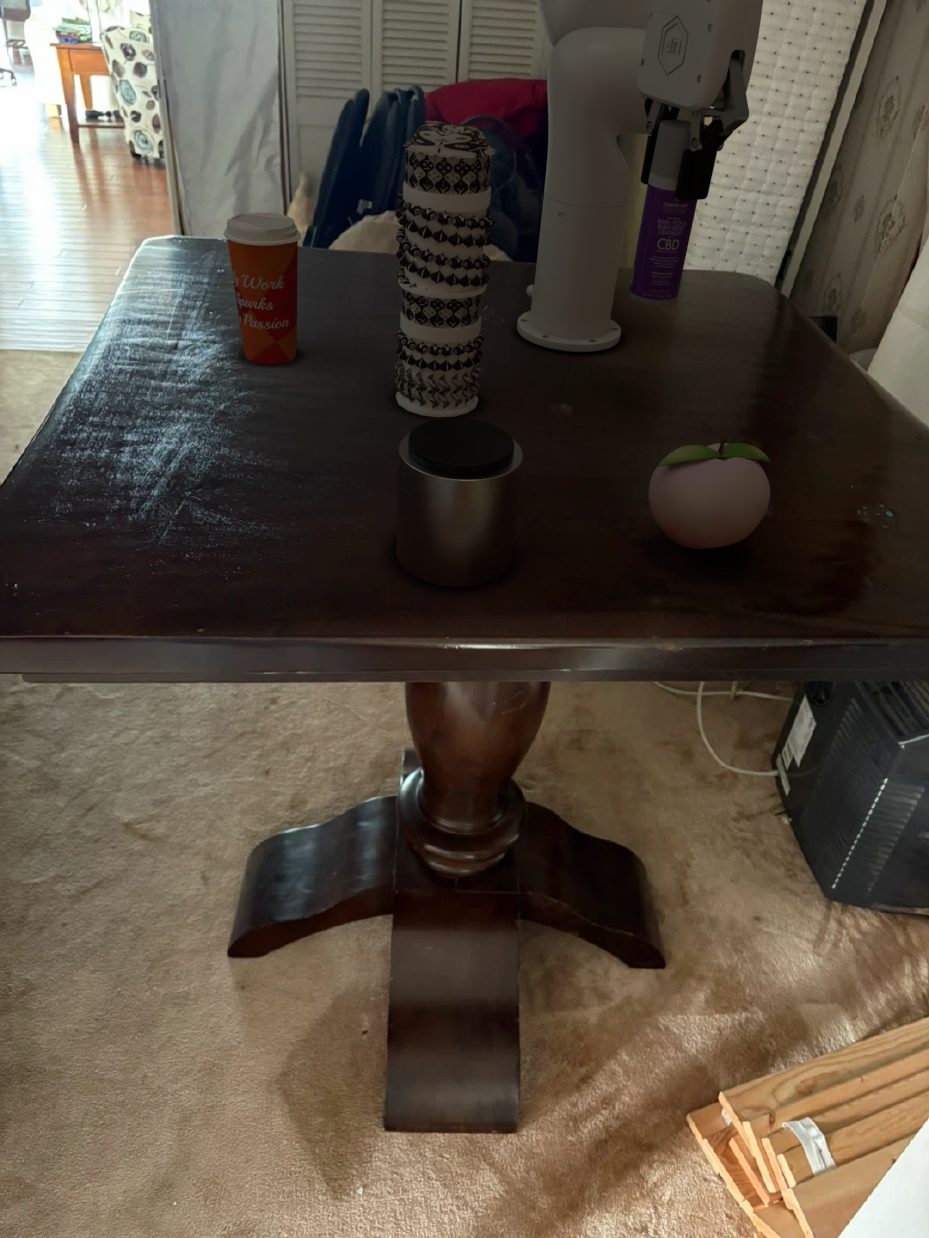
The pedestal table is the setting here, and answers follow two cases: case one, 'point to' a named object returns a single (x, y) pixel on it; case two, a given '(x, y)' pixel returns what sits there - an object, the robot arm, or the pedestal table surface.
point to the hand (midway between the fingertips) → (673, 189)
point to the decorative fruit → (710, 494)
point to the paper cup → (265, 284)
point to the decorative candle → (442, 268)
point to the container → (663, 221)
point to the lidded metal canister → (457, 501)
